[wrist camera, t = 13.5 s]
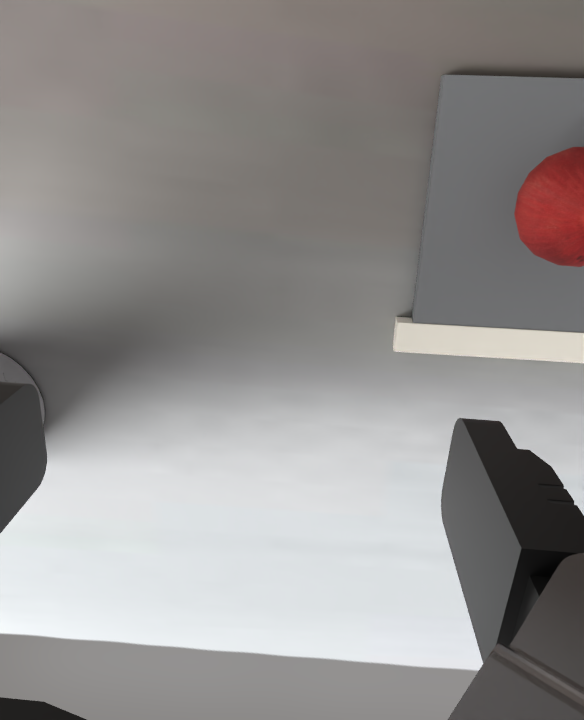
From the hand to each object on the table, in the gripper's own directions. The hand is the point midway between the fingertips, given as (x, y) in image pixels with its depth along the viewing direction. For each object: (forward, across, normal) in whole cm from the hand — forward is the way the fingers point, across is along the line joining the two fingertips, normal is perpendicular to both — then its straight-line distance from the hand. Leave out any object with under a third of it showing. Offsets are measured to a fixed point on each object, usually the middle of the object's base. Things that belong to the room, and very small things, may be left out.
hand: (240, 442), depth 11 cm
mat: (+25, -14, -1) cm, 29 cm away
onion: (+24, -14, -3) cm, 28 cm away
